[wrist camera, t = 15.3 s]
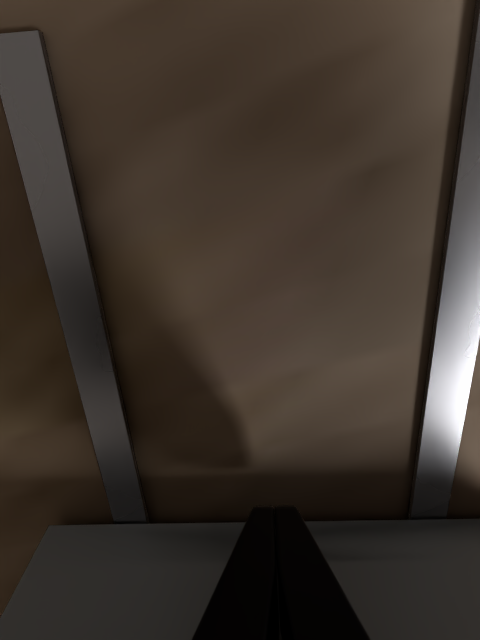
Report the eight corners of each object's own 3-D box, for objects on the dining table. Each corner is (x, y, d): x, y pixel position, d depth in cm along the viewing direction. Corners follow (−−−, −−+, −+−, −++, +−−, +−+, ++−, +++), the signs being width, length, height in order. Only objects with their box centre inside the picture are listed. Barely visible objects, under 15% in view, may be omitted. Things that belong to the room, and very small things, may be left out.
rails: (537, -13, 6) (544, -17, 6) (396, 775, 15) (397, 781, 15) (-10, 36, 6) (-16, 35, 6) (182, 770, 16) (181, 776, 16)
